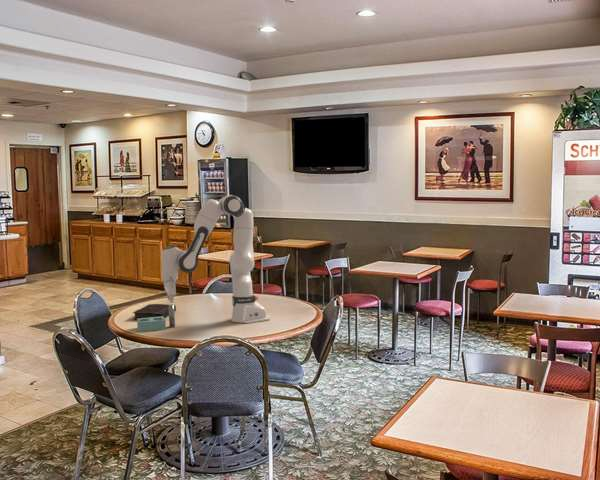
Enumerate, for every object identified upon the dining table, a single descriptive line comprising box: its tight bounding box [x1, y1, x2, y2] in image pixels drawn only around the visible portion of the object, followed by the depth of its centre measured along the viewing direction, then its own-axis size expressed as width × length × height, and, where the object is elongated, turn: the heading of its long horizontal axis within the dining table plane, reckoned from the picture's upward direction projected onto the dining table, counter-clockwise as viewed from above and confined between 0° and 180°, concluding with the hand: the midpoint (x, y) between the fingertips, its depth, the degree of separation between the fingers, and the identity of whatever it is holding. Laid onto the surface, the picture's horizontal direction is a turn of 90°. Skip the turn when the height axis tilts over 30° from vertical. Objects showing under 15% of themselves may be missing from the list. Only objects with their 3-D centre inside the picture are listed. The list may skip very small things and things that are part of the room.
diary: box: [132, 303, 177, 321], centre depth 344 cm, size 19×25×5 cm
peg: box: [168, 304, 176, 328], centre depth 314 cm, size 3×3×12 cm
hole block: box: [136, 316, 167, 333], centre depth 312 cm, size 14×10×5 cm
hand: (170, 301), depth 314 cm, fingers open, 8 cm apart
